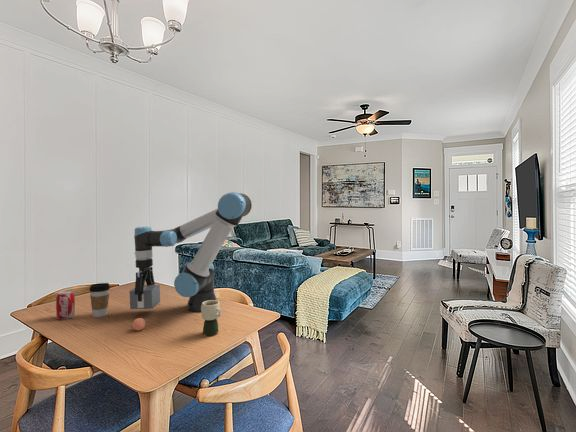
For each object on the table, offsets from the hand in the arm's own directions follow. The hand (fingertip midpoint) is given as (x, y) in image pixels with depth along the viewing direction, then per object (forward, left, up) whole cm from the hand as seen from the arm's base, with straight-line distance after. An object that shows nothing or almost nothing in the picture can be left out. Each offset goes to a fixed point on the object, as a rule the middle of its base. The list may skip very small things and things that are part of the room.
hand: (145, 303), depth 151 cm
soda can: (+35, +5, -5) cm, 35 cm away
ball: (-5, +20, -2) cm, 21 cm away
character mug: (-36, +24, -5) cm, 44 cm away
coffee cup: (+21, +2, -5) cm, 21 cm away
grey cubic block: (0, 0, -1) cm, 1 cm away
